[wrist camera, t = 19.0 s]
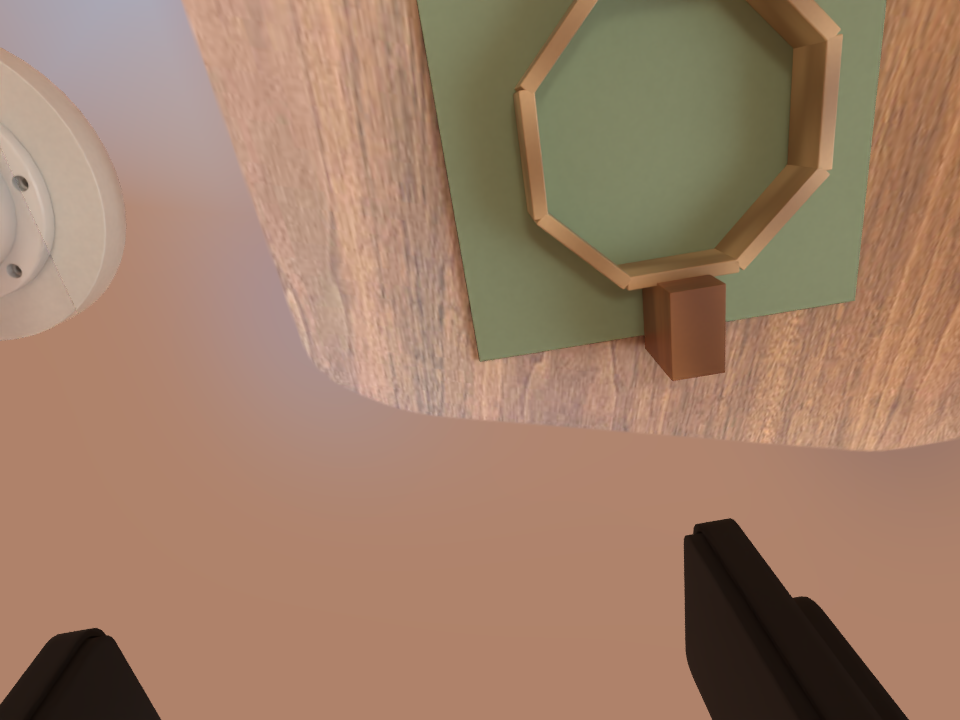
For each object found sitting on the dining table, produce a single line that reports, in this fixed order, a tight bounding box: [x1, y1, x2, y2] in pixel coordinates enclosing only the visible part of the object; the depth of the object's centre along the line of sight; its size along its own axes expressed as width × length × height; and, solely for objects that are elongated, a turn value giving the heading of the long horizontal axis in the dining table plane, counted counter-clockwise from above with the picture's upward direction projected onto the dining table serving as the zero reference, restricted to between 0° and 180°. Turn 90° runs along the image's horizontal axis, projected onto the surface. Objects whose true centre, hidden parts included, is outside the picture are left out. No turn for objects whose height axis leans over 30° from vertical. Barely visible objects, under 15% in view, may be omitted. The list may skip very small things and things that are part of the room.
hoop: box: [513, 0, 843, 381], centre depth 30 cm, size 16×21×5 cm
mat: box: [417, 0, 886, 362], centre depth 31 cm, size 24×24×1 cm
